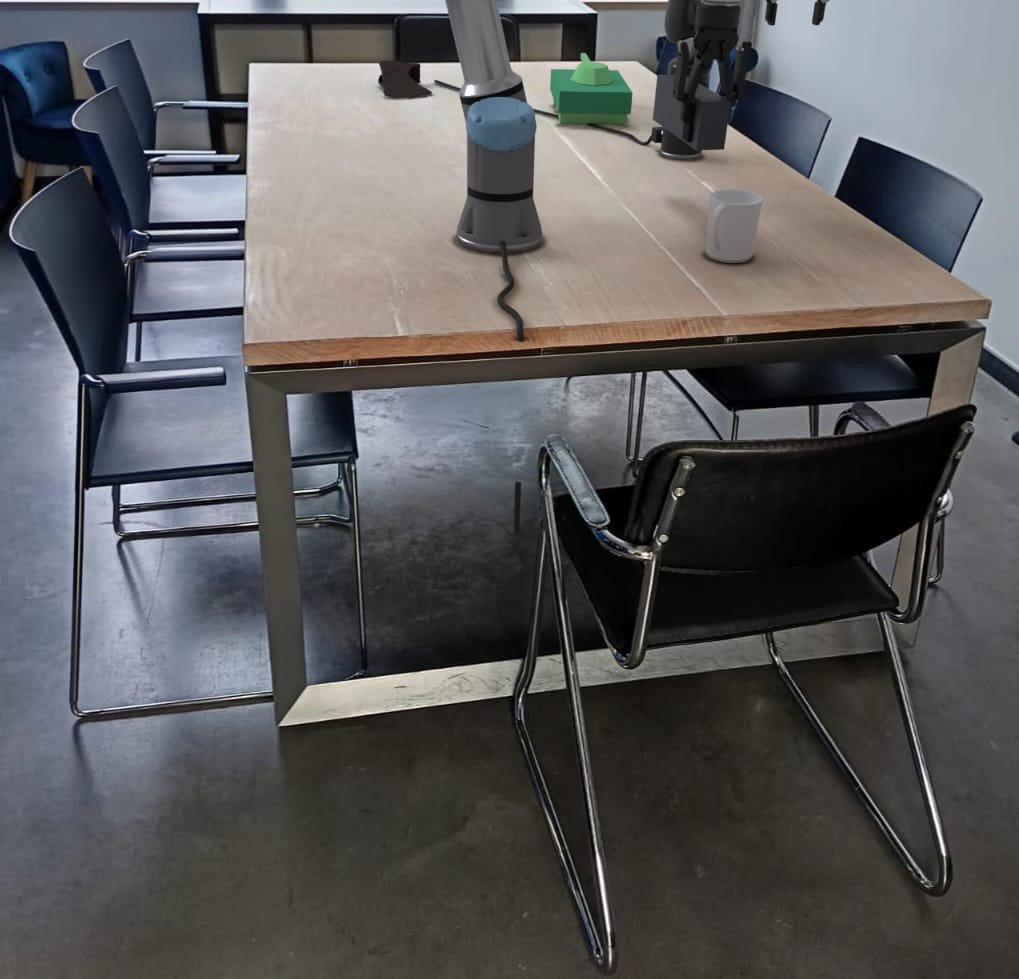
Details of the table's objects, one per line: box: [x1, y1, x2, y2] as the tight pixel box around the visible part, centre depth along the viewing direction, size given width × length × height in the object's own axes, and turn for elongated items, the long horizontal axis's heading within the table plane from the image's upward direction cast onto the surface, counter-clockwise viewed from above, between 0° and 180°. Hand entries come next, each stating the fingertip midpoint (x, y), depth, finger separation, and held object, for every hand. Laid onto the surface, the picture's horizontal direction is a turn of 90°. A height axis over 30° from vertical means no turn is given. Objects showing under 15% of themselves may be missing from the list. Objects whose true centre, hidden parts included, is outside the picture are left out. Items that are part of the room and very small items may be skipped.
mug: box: [705, 188, 764, 264], centre depth 188 cm, size 11×9×10 cm
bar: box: [652, 74, 731, 151], centre depth 205 cm, size 23×5×8 cm, turn 14°
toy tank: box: [549, 52, 633, 126], centre depth 280 cm, size 18×12×35 cm
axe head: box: [377, 59, 433, 99], centre depth 299 cm, size 18×8×15 cm
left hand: (702, 139), depth 200 cm, fingers closed on bar, 5 cm apart
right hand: (793, 24), depth 200 cm, fingers open, 8 cm apart
